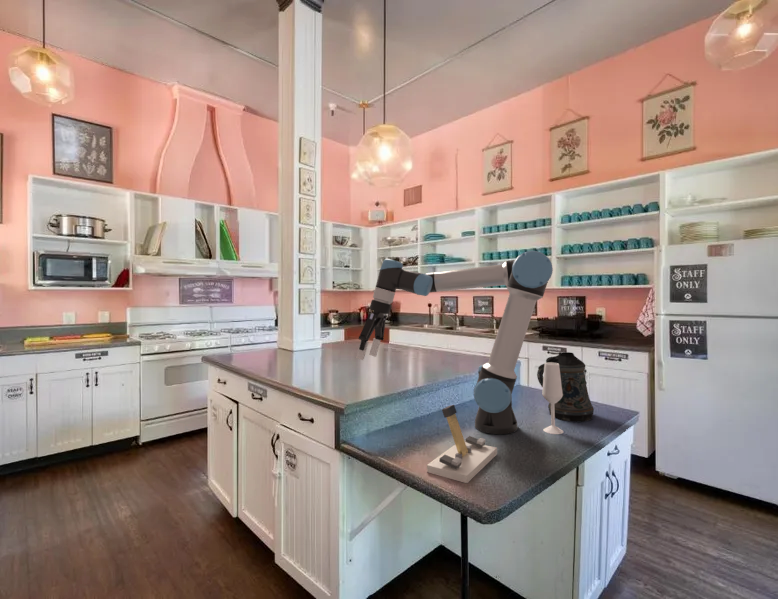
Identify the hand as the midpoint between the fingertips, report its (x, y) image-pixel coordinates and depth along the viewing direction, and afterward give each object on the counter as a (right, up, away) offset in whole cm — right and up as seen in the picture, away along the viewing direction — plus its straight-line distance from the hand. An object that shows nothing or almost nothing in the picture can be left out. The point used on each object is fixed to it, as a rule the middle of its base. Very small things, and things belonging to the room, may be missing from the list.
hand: (366, 357), depth 141 cm
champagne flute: (+67, -26, -4) cm, 72 cm away
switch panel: (+30, -27, -28) cm, 49 cm away
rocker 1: (+25, -24, -35) cm, 49 cm away
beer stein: (+79, -25, +13) cm, 84 cm away
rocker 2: (+35, -23, -21) cm, 47 cm away
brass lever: (+30, -24, -28) cm, 48 cm away
